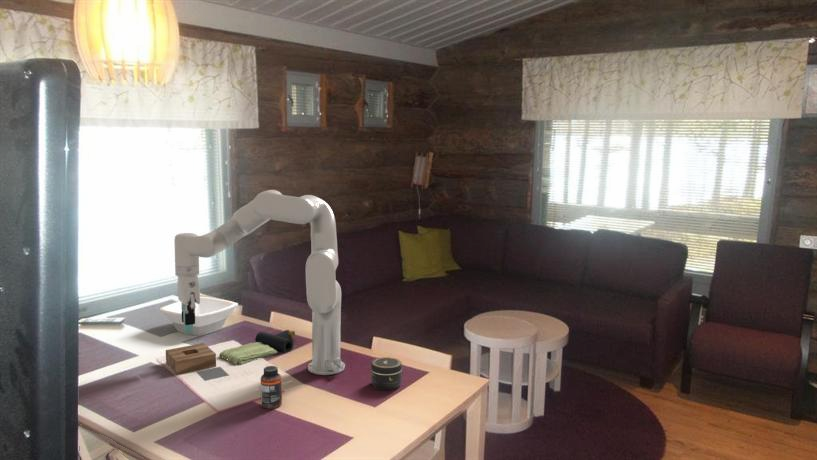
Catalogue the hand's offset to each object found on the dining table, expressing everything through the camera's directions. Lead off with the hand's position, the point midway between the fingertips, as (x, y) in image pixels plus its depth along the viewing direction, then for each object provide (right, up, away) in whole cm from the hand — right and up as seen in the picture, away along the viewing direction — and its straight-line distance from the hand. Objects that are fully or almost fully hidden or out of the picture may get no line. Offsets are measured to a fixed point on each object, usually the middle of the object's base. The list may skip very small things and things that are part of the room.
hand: (188, 322), depth 196 cm
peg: (0, -3, 0) cm, 3 cm away
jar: (+68, -18, -11) cm, 71 cm away
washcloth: (+17, -15, +13) cm, 26 cm away
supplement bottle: (+35, -20, -27) cm, 48 cm away
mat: (+10, -16, -5) cm, 20 cm away
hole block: (0, -15, +2) cm, 15 cm away
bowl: (-11, -10, +42) cm, 44 cm away
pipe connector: (+26, -13, +24) cm, 38 cm away
